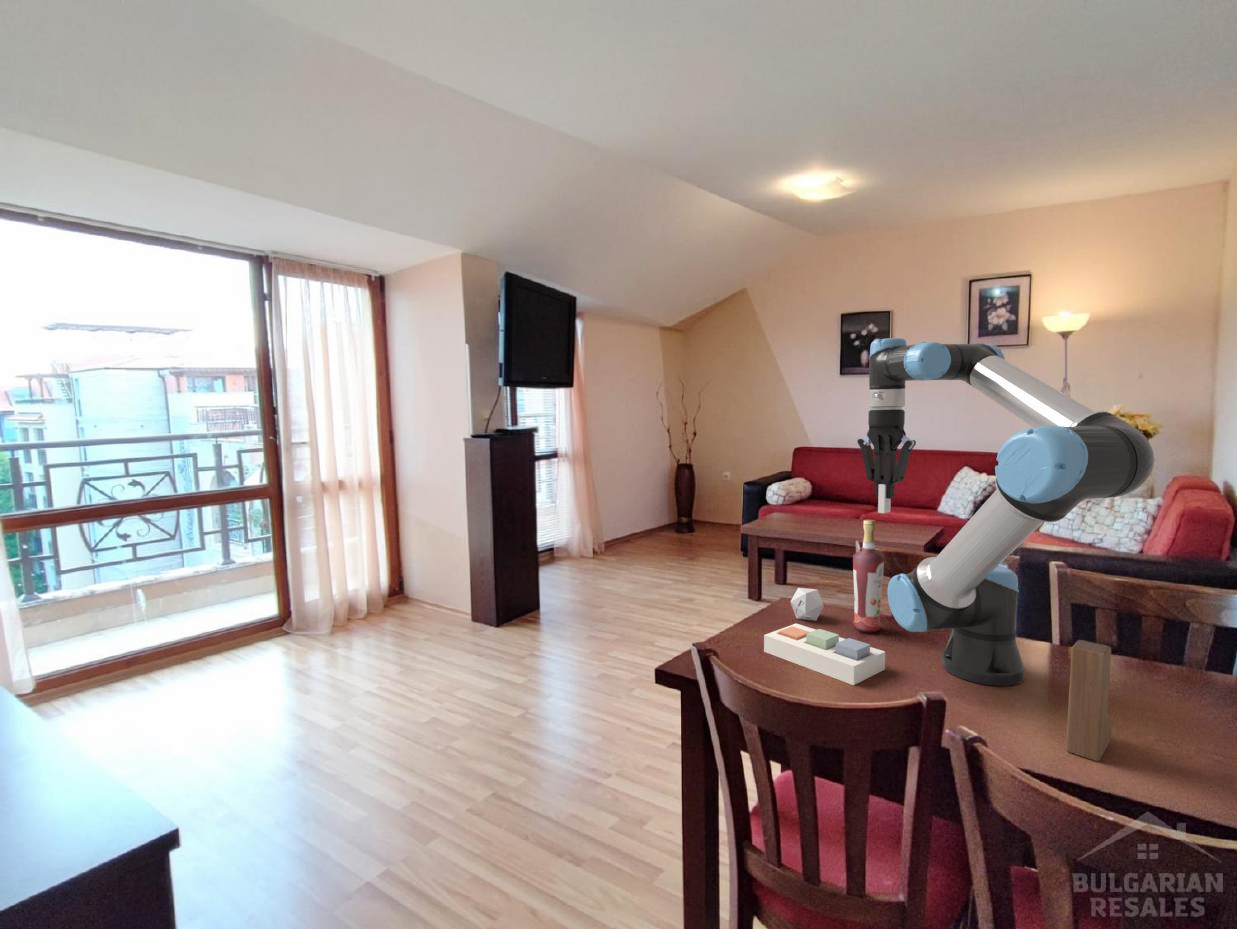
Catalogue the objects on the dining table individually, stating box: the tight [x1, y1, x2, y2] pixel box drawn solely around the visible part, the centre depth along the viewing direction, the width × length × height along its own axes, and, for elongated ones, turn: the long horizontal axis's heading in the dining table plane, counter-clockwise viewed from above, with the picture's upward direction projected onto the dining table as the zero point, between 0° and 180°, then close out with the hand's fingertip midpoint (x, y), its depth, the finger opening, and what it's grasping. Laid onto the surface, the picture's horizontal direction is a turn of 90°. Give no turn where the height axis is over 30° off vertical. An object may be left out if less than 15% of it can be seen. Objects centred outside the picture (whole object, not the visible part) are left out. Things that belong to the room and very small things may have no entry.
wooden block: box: [1065, 639, 1113, 762], centre depth 104 cm, size 9×4×18 cm, turn 133°
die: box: [790, 587, 824, 622], centre depth 169 cm, size 8×9×10 cm
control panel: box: [763, 623, 886, 686], centre depth 141 cm, size 23×12×4 cm, turn 38°
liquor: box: [852, 519, 885, 634], centre depth 159 cm, size 7×7×28 cm
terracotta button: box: [779, 626, 810, 640], centre depth 147 cm, size 5×5×3 cm
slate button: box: [836, 637, 871, 661], centre depth 135 cm, size 5×5×3 cm
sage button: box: [806, 628, 840, 650], centre depth 141 cm, size 5×5×3 cm
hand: (884, 512), depth 144 cm, fingers closed
